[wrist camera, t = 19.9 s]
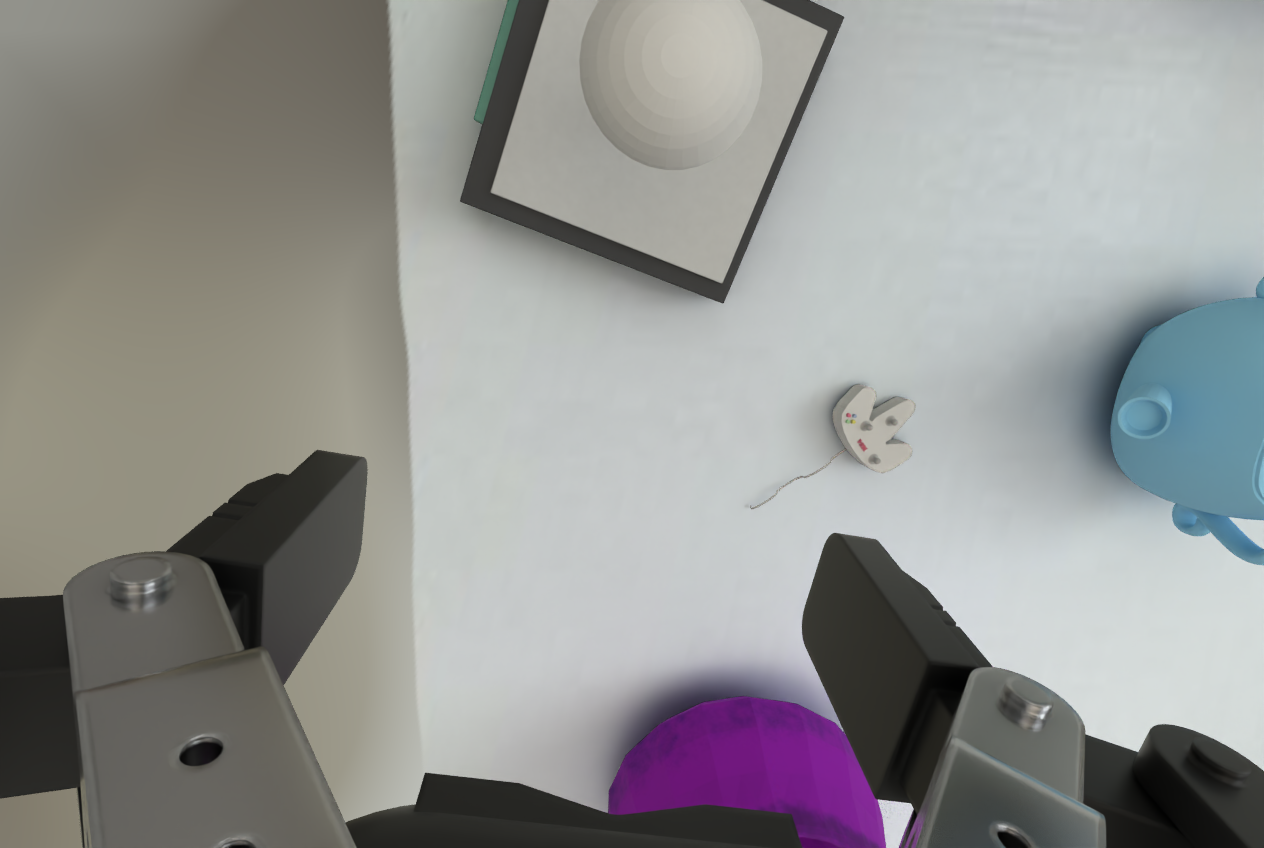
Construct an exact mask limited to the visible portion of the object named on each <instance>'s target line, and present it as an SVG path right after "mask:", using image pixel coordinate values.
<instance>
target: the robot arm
mask: <svg viewBox="0 0 1264 848" xmlns="http://www.w3.org/2000/svg"><path fill="white" fill-rule="evenodd" d="M366 485H367V461H366V459H365V458H364V457H359V456H352V455H346V454H339V453H334V452H327V451H321V450H317V451H315V452H314V453H313V454H312V455H310V457H308V458H307V459H306V460H305V461H304V462H303V463H302V464H301V465H299V466H298V467H297V468H296V469H295V470H294V471H293V472H292V473H291V474H289V475H285V474H278V473H276V474H273V475H271V476H268V477H265V478H263V479H260V480H257V481H255V482H252V483H249V484H247V485H246V486H244V487H243V488H242V489H241V490H240V491H238V492H237V493H236V494H235V495H234V496H233V497H231V498H230V499H229V501H228V503H224V504H223V505H222V506H220V507H219V508H218V509H217V510H215V511H214V512H213V515H212V516H209V517H207V518H206V519H205V520H204V521H202V522H201V523H200V524H198V525H197V526H196V527H195V528H194V529H192V530H191V531H190V532H189V533H188V534H186V535H185V536H184V537H183V538H181V539H180V540H179V541H178V542H177V543H175V544H174V545H173V546H172V547H171V548H170V549H168V550H167V551H166V552H160V551H157V552H141V553H134V554H128V555H122V556H118V557H115V558H111V559H108V560H105V561H102V562H99V563H97V564H95V565H92V566H90V567H88V568H86V569H85V570H83V571H81V572H80V573H78V574H77V575H76V576H74V577H73V578H72V579H71V580H70V581H69V582H68V583H67V585H66V586H65V588H64V592H63V595H56V596H37V597H17V598H16V597H15V598H0V798H7V797H14V796H21V795H27V794H35V793H42V792H49V791H56V790H63V789H70V788H77V800H78V810H79V820H80V830H81V841H82V848H803V847H802V845H801V842H800V839H799V836H798V832H797V829H796V826H795V823H794V820H793V816H792V814H788V813H779V812H770V811H761V810H752V809H743V808H734V807H726V806H717V805H708V804H704V805H696V806H688V807H680V808H672V809H664V810H656V811H648V812H640V813H632V814H624V815H615V814H609V813H605V812H602V811H599V810H596V809H593V808H590V807H587V806H584V805H581V804H578V803H575V802H572V801H570V800H567V799H564V798H561V797H558V796H555V795H552V794H549V793H546V792H543V791H540V790H537V789H534V788H531V787H529V786H526V785H523V784H520V783H512V782H503V781H494V780H485V779H476V778H467V777H459V776H450V775H441V774H432V773H425V775H424V778H423V782H422V785H421V789H420V792H419V795H418V799H417V802H416V805H408V806H401V807H397V808H392V809H387V810H383V811H379V812H375V813H372V814H369V815H366V816H363V817H360V818H357V819H354V820H351V821H348V822H346V823H345V821H344V819H343V817H342V814H341V812H340V810H339V808H338V806H337V803H336V802H335V799H334V797H333V794H332V792H331V790H330V788H329V786H328V783H327V781H326V779H325V777H324V774H323V772H322V770H321V768H320V766H319V763H318V761H317V759H316V757H315V754H314V752H313V750H312V748H311V746H310V743H309V741H308V739H307V737H306V734H305V732H304V730H303V728H302V726H301V723H300V721H299V719H298V717H297V714H296V712H295V710H294V708H293V706H292V703H291V701H290V699H289V697H288V695H287V692H286V690H285V688H284V684H285V682H286V681H287V679H288V678H289V676H290V675H291V673H292V671H293V670H294V668H295V667H296V665H297V663H298V662H299V661H300V659H301V657H302V656H303V654H304V653H305V651H306V650H307V648H308V646H309V645H310V643H311V642H312V640H313V639H314V637H315V636H316V634H317V633H318V631H319V629H320V628H321V626H322V625H323V623H324V622H325V620H326V618H327V617H328V615H329V614H330V612H331V610H332V609H333V607H334V606H335V604H336V603H337V601H338V599H339V598H340V597H341V595H342V593H343V592H344V590H345V588H346V587H347V586H348V584H349V582H350V581H351V579H352V577H353V575H354V572H355V570H356V566H357V564H358V560H359V556H360V551H361V545H362V534H363V533H362V532H363V522H364V510H365V497H366ZM802 635H803V641H804V644H805V647H806V649H807V651H808V653H809V656H810V658H811V660H812V662H813V664H814V667H815V669H816V671H817V673H818V675H819V677H820V680H821V682H822V684H823V686H824V688H825V690H826V693H827V695H828V697H829V699H830V701H831V704H832V706H833V708H834V710H835V712H836V714H837V717H838V719H839V721H840V723H841V725H842V728H843V730H844V732H845V734H846V736H847V738H848V741H849V743H850V745H851V747H852V749H853V752H854V754H855V756H856V758H857V760H858V762H859V765H860V767H861V769H862V771H863V773H864V776H865V778H866V780H867V782H868V784H869V786H870V789H871V791H872V793H873V795H874V797H875V799H880V800H888V801H897V802H906V803H911V804H912V806H913V808H914V810H913V812H912V815H911V817H910V820H909V822H908V824H907V827H906V829H905V832H904V835H903V837H902V840H901V843H900V846H899V848H1264V771H1263V770H1262V769H1260V768H1259V767H1258V766H1257V765H1255V764H1254V763H1252V762H1251V761H1250V760H1248V759H1247V758H1245V757H1244V756H1242V755H1241V754H1239V753H1238V752H1236V751H1234V750H1233V749H1231V748H1229V747H1228V746H1226V745H1224V744H1222V743H1220V742H1218V741H1216V740H1214V739H1212V738H1210V737H1208V736H1206V735H1203V734H1201V733H1198V732H1196V731H1193V730H1190V729H1187V728H1183V727H1179V726H1175V725H1167V724H1162V725H1156V726H1154V727H1152V728H1151V729H1150V731H1149V733H1148V735H1147V737H1146V739H1145V741H1144V743H1143V744H1142V746H1141V748H1140V750H1139V752H1136V751H1133V750H1130V749H1127V748H1124V747H1121V746H1118V745H1115V744H1112V743H1109V742H1106V741H1103V740H1100V739H1097V738H1094V737H1091V736H1088V735H1085V726H1084V724H1083V721H1082V719H1081V718H1080V716H1079V715H1078V713H1077V712H1076V711H1075V710H1074V709H1073V708H1072V707H1071V706H1070V705H1069V704H1068V703H1067V702H1066V701H1065V700H1064V699H1062V698H1061V697H1060V696H1058V695H1057V694H1056V693H1054V692H1053V691H1051V690H1050V689H1048V688H1047V687H1045V686H1043V685H1042V684H1040V683H1038V682H1036V681H1034V680H1032V679H1030V678H1028V677H1026V676H1023V675H1021V674H1018V673H1015V672H1012V671H1009V670H1005V669H1001V668H995V667H992V665H991V664H990V663H989V662H988V661H987V659H986V658H985V657H984V656H983V655H982V653H981V652H980V651H979V650H978V649H977V647H976V646H975V645H974V644H973V643H972V641H971V640H970V639H969V638H968V637H967V635H966V634H965V633H964V632H963V631H962V629H961V628H960V627H956V622H955V621H954V620H953V619H952V618H951V616H950V615H949V614H948V613H947V612H946V611H943V607H942V606H941V604H940V603H939V602H938V601H937V600H936V598H935V597H934V596H933V595H932V594H931V592H930V591H929V590H928V589H927V588H926V587H924V586H923V585H922V584H920V583H919V582H918V581H916V580H915V579H913V578H912V577H911V576H909V575H908V574H907V573H905V572H904V571H902V570H901V568H900V567H899V566H898V565H897V563H896V562H895V561H894V560H893V559H892V557H891V556H890V555H889V554H888V552H887V551H886V550H885V549H884V547H883V546H882V545H881V544H880V542H878V541H877V540H876V539H870V538H864V537H858V536H851V535H845V534H839V533H833V534H831V535H830V536H829V537H828V539H827V540H826V543H825V545H824V548H823V551H822V554H821V557H820V560H819V563H818V567H817V570H816V573H815V576H814V579H813V582H812V586H811V589H810V592H809V595H808V598H807V602H806V605H805V608H804V612H803V619H802Z"/></svg>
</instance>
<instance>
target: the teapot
mask: <svg viewBox="0 0 1264 848" xmlns="http://www.w3.org/2000/svg"><path fill="white" fill-rule="evenodd" d="M1256 295H1257V297H1252V298H1238V299H1232V300H1226V301H1220V302H1215V303H1211V304H1207V305H1203V306H1200V307H1197V308H1194V309H1192V310H1189V311H1186V312H1184V313H1182V314H1180V315H1178V316H1176V317H1174V318H1172V319H1170V320H1169V321H1167V322H1165V323H1164V324H1162V325H1158V326H1155V327H1153V328H1151V329H1150V330H1149V331H1148V332H1147V333H1146V334H1145V335H1144V336H1143V338H1142V340H1141V343H1140V346H1139V347H1138V348H1137V350H1136V352H1135V354H1134V355H1133V357H1132V359H1131V361H1130V363H1129V365H1128V367H1127V370H1126V372H1125V374H1124V376H1123V379H1122V382H1121V384H1120V387H1119V390H1118V393H1117V397H1116V400H1115V404H1114V409H1113V413H1112V418H1111V429H1110V431H1111V444H1112V449H1113V453H1114V456H1115V459H1116V462H1117V464H1118V465H1119V467H1120V469H1121V470H1122V471H1123V473H1124V474H1125V475H1126V476H1127V477H1128V478H1129V479H1130V480H1131V481H1132V482H1134V483H1135V484H1137V485H1138V486H1140V487H1141V488H1143V489H1145V490H1147V491H1149V492H1151V493H1153V494H1155V495H1157V496H1159V497H1161V498H1163V499H1166V500H1168V501H1171V502H1174V503H1176V504H1175V505H1174V507H1173V511H1172V517H1173V522H1174V524H1175V526H1176V527H1177V528H1178V529H1179V530H1180V531H1182V532H1184V533H1186V534H1189V535H1192V536H1204V535H1206V534H1208V533H1210V532H1211V533H1212V534H1213V535H1214V536H1215V537H1216V538H1217V539H1218V540H1219V541H1220V542H1221V543H1222V544H1223V545H1224V546H1225V547H1226V548H1227V549H1228V550H1229V551H1230V552H1232V553H1233V554H1234V555H1236V556H1237V557H1239V558H1241V559H1243V560H1245V561H1247V562H1250V563H1253V564H1257V565H1264V549H1262V548H1261V547H1259V546H1258V545H1256V544H1255V543H1254V542H1253V541H1251V540H1250V539H1249V538H1248V537H1247V536H1246V535H1245V534H1244V533H1243V532H1242V531H1241V530H1240V529H1239V528H1238V527H1237V526H1236V525H1235V524H1234V523H1233V522H1232V521H1231V520H1230V519H1229V518H1228V517H1234V518H1242V519H1253V520H1264V277H1263V278H1262V279H1261V281H1260V282H1259V284H1258V286H1257V288H1256Z"/></svg>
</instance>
